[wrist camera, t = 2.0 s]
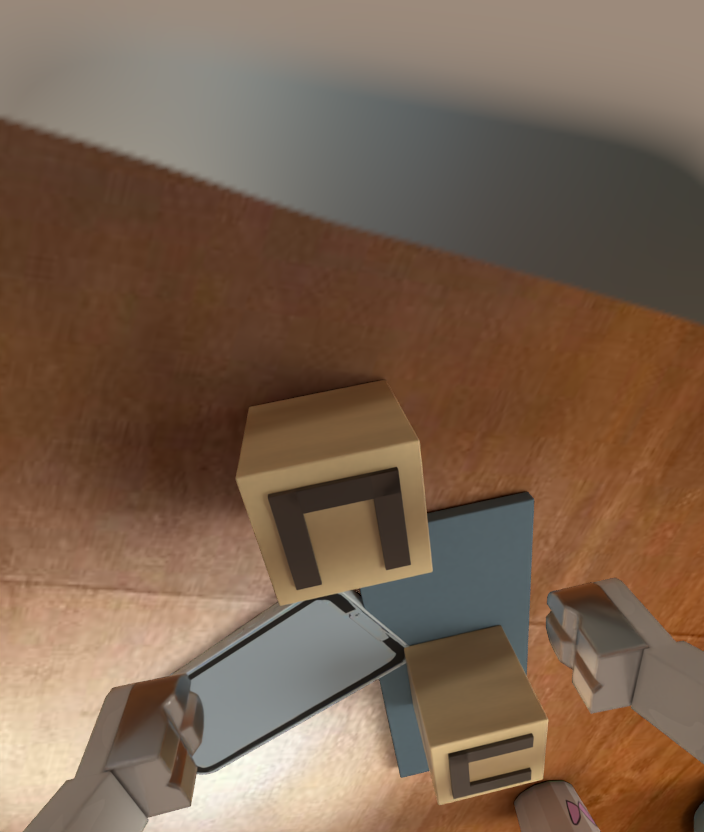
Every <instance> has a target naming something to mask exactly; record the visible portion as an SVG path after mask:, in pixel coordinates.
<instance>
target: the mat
mask: <svg viewBox="0 0 704 832" xmlns="http://www.w3.org/2000/svg"><path fill="white" fill-rule="evenodd" d="M533 516H534V499H533V497H532V496H531V495H530V494H529V493H528V492H524V493H519V494H515V495H510V496H505V497H501V498H496V499H492V500H487V501H482V502H478V503H473V504H469V505H464V506H459V507H455V508H450V509H446V510H441V511H436V512H432V513H427V518H428V528H429V538H430V548H431V558H432V567H433V571H432V572H430V573H426V574H421V575H417V576H412V577H408V578H403V579H399V580H394V581H390V582H386V583H381V584H377V585H372V586H368V587H363V588H360V592H361V597H362V601H363V606H364V608H365V610H367V611H368V612H369V613H370V614H371V615H373V616H374V617H375V618H376V619H377V620H379V621H380V622H381V623H382V624H384V625H385V626H386V627H387V628H388V629H390V630H391V631H392V632H393V633H394V634H396V635H397V636H398V637H399V638H400V639H402V640H403V641H404V642H405V643H406V644H408V645H409V646H411V645H416V644H420V643H424V642H429V641H433V640H437V639H442V638H446V637H450V636H455V635H459V634H463V633H468V632H472V631H476V630H481V629H485V628H489V627H493V626H498V625H501V626H502V628H503V630H504V632H505V634H506V636H507V638H508V640H509V642H510V644H511V646H512V648H513V650H514V652H515V654H516V656H517V658H518V660H519V662H520V664H521V666H522V668H523V670H524V672H525V674H526V676H527V654H528V631H529V608H530V585H531V562H532V539H533ZM379 680H380V685H381V689H382V694H383V699H384V703H385V708H386V712H387V717H388V722H389V726H390V731H391V736H392V740H393V745H394V749H395V754H396V759H397V763H398V768H399V773H400V777H401V778H403V777H407V776H411V775H415V774H419V773H423V772H427V771H429V767H428V763H427V759H426V755H425V751H424V747H423V743H422V739H421V735H420V731H419V727H418V723H417V719H416V715H415V711H414V707H413V701H412V695H411V689H410V683H409V677H408V671H407V665H406V663H405V664H403V665H402V666H400V667H398V668H397V669H395V670H393V671H391V672H390V673H388V674H386V675H384V676H383V677H381V678H379Z"/></svg>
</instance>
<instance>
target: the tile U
mask: <svg viewBox="0 0 704 832" xmlns="http://www.w3.org/2000/svg"><path fill="white" fill-rule="evenodd" d="M404 652H405V658H406V665H407V671H408V677H409V683H410V689H411V695H412V701H413V707H414V711H415V715H416V719H417V723H418V727H419V731H420V735H421V739H422V743H423V747H424V751H425V755H426V759H427V763H428V767H429V771H430V775H431V779H432V783H433V787H434V791H435V795H436V799H437V803H438V805H443V804H447V803H451V802H455V801H459V800H463V799H467V798H471V797H475V796H479V795H483V794H487V793H491V792H495V791H499V790H503V789H507V788H511V787H515V786H519V785H523V784H527V783H531V782H535V781H539V780H542V779H543V774H544V762H545V751H546V740H547V728H548V718H547V716H546V714H545V712H544V710H543V708H542V706H541V704H540V702H539V700H538V698H537V696H536V694H535V692H534V690H533V688H532V686H531V684H530V682H529V680H528V678H527V676H526V674H525V672H524V670H523V668H522V666H521V664H520V662H519V660H518V658H517V656H516V654H515V652H514V650H513V648H512V646H511V644H510V642H509V640H508V638H507V636H506V634H505V632H504V630H503V628H502V626H501V625H498V626H493V627H489V628H485V629H481V630H476V631H472V632H468V633H463V634H459V635H455V636H450V637H446V638H442V639H437V640H433V641H429V642H424V643H420V644H416V645H411V646H409V647H406V648H404Z"/></svg>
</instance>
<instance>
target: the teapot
mask: <svg viewBox="0 0 704 832" xmlns="http://www.w3.org/2000/svg"><path fill="white" fill-rule="evenodd" d="M694 832H704V802H703V803H702V804H701V805H700V806H699V808H698V809H697V810H696V812H695V815H694Z"/></svg>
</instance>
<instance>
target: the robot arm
mask: <svg viewBox="0 0 704 832" xmlns="http://www.w3.org/2000/svg"><path fill="white" fill-rule="evenodd" d="M547 604H548V606H549V608H550V609H551V612H550V613H549V614H548V616H547V617H546V630H547V634H548V637H549V641H550V643H551V645H552V648H553V650H554V652H555V654H556V655H557V657H558V659H559V661H560V662H561V663H563V664H564V665H566V666H568V667H569V668H571V669H572V670H573V675H572V683H573V684H574V686H575V688H576V689H577V691H578V693H579V694H580V696H581V698H582V699H583V701H584V703H585V704H586V706H587V708H588V709H589V711H590V713H596V712H601V711H606V710H611V709H616V708H621V707H626V706H631V705H632V706H631V708H632V709H633V710H634V711H636V712H637V713H638V714H639V715H641V716H642V717H643V718H645V719H646V720H647V721H649V722H650V723H651V724H652V725H654V726H655V727H656V728H658V729H659V730H660V731H662V732H663V733H664V734H665V735H667V736H668V737H669V738H671V739H672V740H673V741H674V742H676V743H677V744H678V745H680V746H681V747H682V748H684V749H685V750H686V751H687V752H689V753H690V754H691V755H693V756H694V757H695V758H697V759H698V760H699V761H700V762H702V763H703V764H704V651H702V650H700V649H698V648H696V647H694V646H692V645H690V644H689V643H687V642H685V641H679V642H676V641H675V640H674V639H673V638H672V637H671V636H670V635H669V633H668V632H667V631H666V630H665V629H664V628H663V627H662V626H661V624H660V623H659V622H658V621H657V620H656V619H655V618H654V617H653V616H652V614H651V613H650V612H649V611H648V610H647V609H646V608H645V607H644V605H643V604H642V603H641V602H640V601H639V600H638V599H637V598H636V596H635V595H634V594H633V593H632V592H631V591H630V590H629V589H628V588H627V586H626V585H625V584H624V583H623V582H622V581H621V580H619V579H617V578H610V579H606V580H602V581H598V582H594V583H591V582H590V583H586V584H582V585H577V586H573V587H569V588H565V589H561V590H556V591H552V592H550V593H549V594H548V597H547ZM190 687H191V680H190V679H189V677H188V675H187V674H186V673H183V674H178V675H173V676H168V677H163V678H158V679H153V680H148V681H143V682H137V683H132V684H127V685H123V686H118V687H114V688H112V689H111V691H110V692H109V693H108V695H107V696H106V698H105V700H104V703H103V705H102V708H101V710H100V713H99V716H98V718H97V721H96V723H95V726H94V729H93V731H92V734H91V736H90V739H89V741H88V744H87V747H86V749H85V752H84V754H83V757H82V760H81V762H80V765H79V767H78V770H77V772H76V775H75V778H74V779H71V780H67V781H66V782H65V783H64V784H63V785H62V786H61V788H60V789H59V790H58V791H57V792H56V793H55V795H54V796H53V797H52V798H51V799H50V800H49V802H48V803H47V804H46V805H45V806H44V807H43V809H42V810H41V811H40V812H39V813H38V814H37V816H36V817H35V818H34V819H33V820H32V821H31V823H30V824H29V825H28V826H27V827H26V828H25V830H24V831H23V832H142V831H143V829H144V828H145V826H146V824H147V822H148V817H152V816H156V815H160V814H163V813H167V812H171V811H175V810H179V809H182V808H186V807H190V806H191V802H192V796H193V791H194V785H195V779H196V774H197V768H198V767H197V765H196V763H195V761H194V759H193V757H192V756H193V755H194V753H195V752H196V750H197V749H198V748H199V746H200V745H201V743H202V738H203V732H204V709H203V705H202V701H201V699H200V697H199V695H198V694H196V693H194V692H192V691H190Z"/></svg>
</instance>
